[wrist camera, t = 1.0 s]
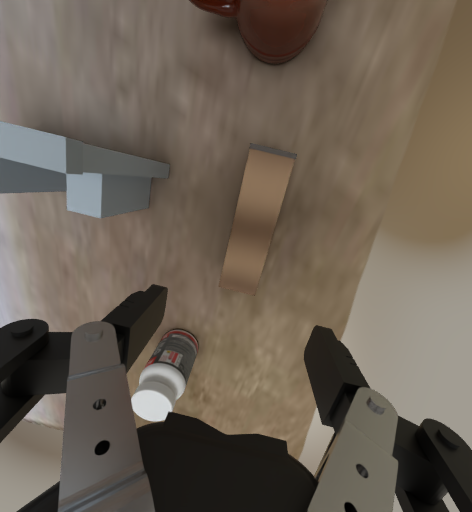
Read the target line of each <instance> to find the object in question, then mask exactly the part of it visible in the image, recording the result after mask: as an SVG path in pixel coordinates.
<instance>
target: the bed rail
mask: <svg viewBox="0 0 472 512" xmlns="http://www.w3.org/2000/svg"><path fill="white" fill-rule="evenodd" d="M296 157H297V154H294V153H290V152H286V151H282V150H278V149H273V148H269V147H265V146H261V145H257V144H253V143H250V151H249V155H248V159H247V164H246V168H245V172H244V177H243V181H242V186H241V190H240V194H239V199H238V203H237V208H236V212H235V216H234V221H233V225H232V229H231V234H230V238H229V243H228V247H227V251H226V256H225V260H224V265H223V269H222V273H221V278H220V282H219V286H218V287H221V288H226V289H230V290H234V291H238V292H242V293H246V294H250V295H254V296H255V294H256V291H257V288H258V284H259V281H260V277H261V274H262V270H263V267H264V264H265V260H266V257H267V253H268V250H269V246H270V243H271V240H272V236H273V233H274V229H275V226H276V223H277V219H278V216H279V212H280V209H281V205H282V202H283V199H284V195H285V192H286V188H287V185H288V181H289V178H290V175H291V171H292V168H293V164H294V161H295V159H296Z"/></svg>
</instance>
